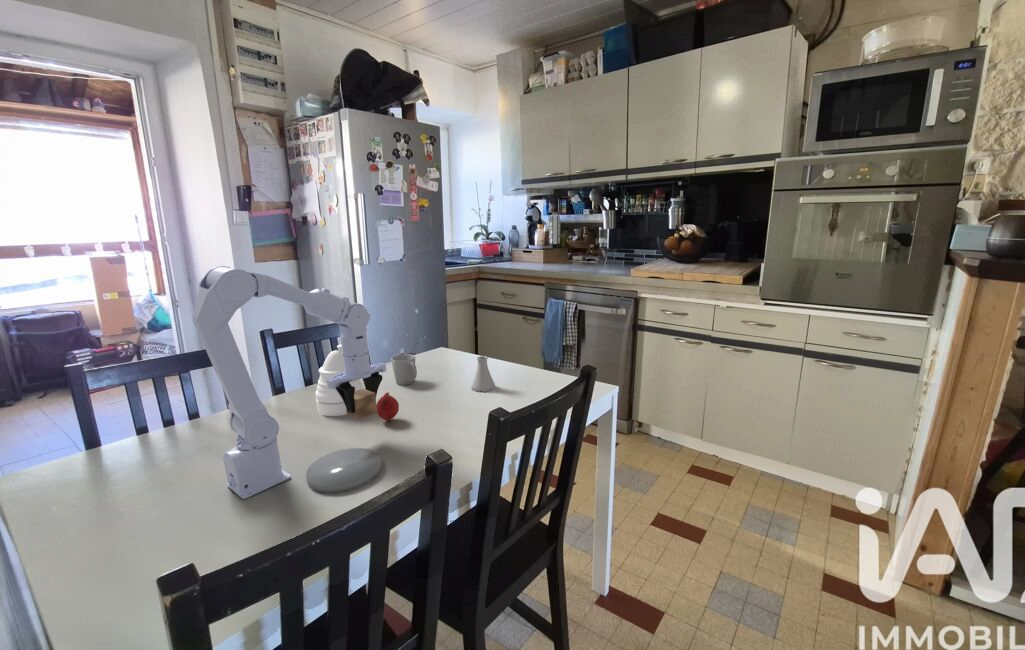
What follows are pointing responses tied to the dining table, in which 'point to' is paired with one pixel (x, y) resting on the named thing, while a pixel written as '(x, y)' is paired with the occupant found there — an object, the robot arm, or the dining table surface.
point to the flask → (483, 376)
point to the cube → (363, 404)
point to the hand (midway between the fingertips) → (361, 407)
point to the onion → (387, 407)
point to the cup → (404, 368)
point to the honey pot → (330, 398)
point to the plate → (343, 470)
